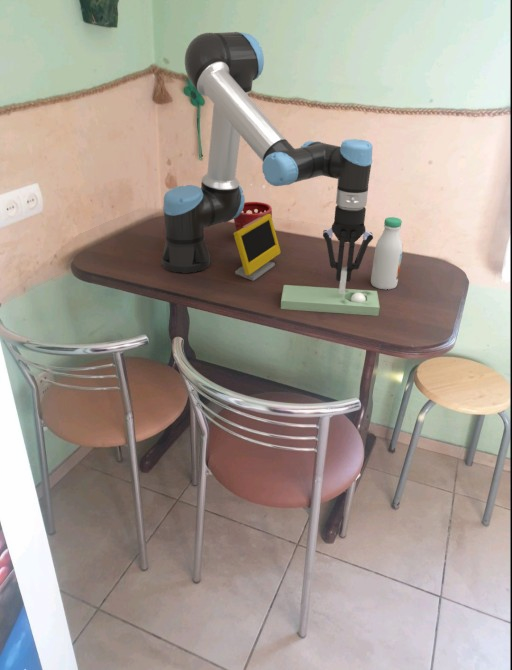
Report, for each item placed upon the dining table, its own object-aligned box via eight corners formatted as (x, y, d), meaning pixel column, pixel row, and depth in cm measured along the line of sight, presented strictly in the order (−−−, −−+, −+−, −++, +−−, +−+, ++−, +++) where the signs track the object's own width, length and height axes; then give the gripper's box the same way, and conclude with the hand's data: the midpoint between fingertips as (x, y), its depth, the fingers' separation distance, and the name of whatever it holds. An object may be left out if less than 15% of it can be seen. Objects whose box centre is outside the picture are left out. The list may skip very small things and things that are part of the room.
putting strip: (280, 308, 146) (281, 300, 145) (283, 292, 155) (283, 284, 153) (378, 315, 144) (379, 307, 142) (375, 299, 152) (376, 290, 151)
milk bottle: (391, 292, 156) (402, 225, 146) (366, 286, 159) (375, 220, 149) (400, 283, 162) (411, 218, 151) (376, 277, 165) (385, 213, 155)
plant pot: (236, 232, 196) (236, 200, 190) (272, 235, 195) (274, 202, 189) (230, 245, 185) (230, 211, 179) (268, 248, 184) (269, 214, 178)
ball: (348, 301, 145) (361, 294, 144) (347, 295, 149) (360, 287, 147) (356, 312, 147) (369, 305, 145) (355, 305, 150) (367, 298, 149)
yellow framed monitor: (249, 285, 158) (250, 234, 150) (226, 279, 162) (226, 229, 154) (280, 262, 173) (282, 214, 165) (259, 257, 177) (260, 210, 169)
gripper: (324, 209, 132) (317, 296, 144) (378, 212, 131) (366, 299, 143) (324, 200, 139) (318, 284, 151) (376, 202, 137) (365, 287, 149)
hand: (341, 291), depth 147 cm, fingers closed
